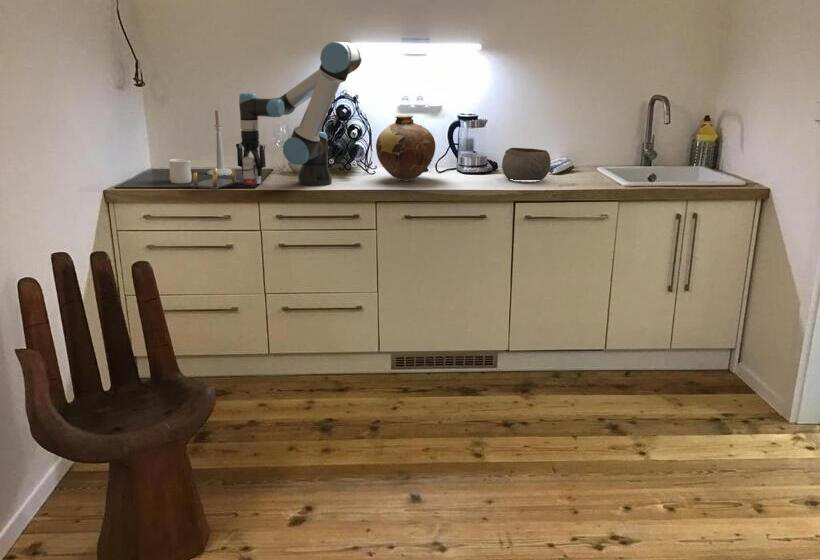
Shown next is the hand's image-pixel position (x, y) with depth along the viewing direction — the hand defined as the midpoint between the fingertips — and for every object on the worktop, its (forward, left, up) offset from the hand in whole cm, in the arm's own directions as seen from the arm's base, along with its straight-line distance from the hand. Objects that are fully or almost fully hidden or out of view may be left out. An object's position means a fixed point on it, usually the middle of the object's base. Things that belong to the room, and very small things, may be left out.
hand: (252, 182), depth 309 cm
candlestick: (+28, -18, -1) cm, 33 cm away
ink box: (0, 0, -1) cm, 1 cm away
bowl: (-111, -64, -1) cm, 128 cm away
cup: (+31, +9, -1) cm, 32 cm away
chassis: (+13, +9, 0) cm, 16 cm away
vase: (-59, -38, -1) cm, 70 cm away
